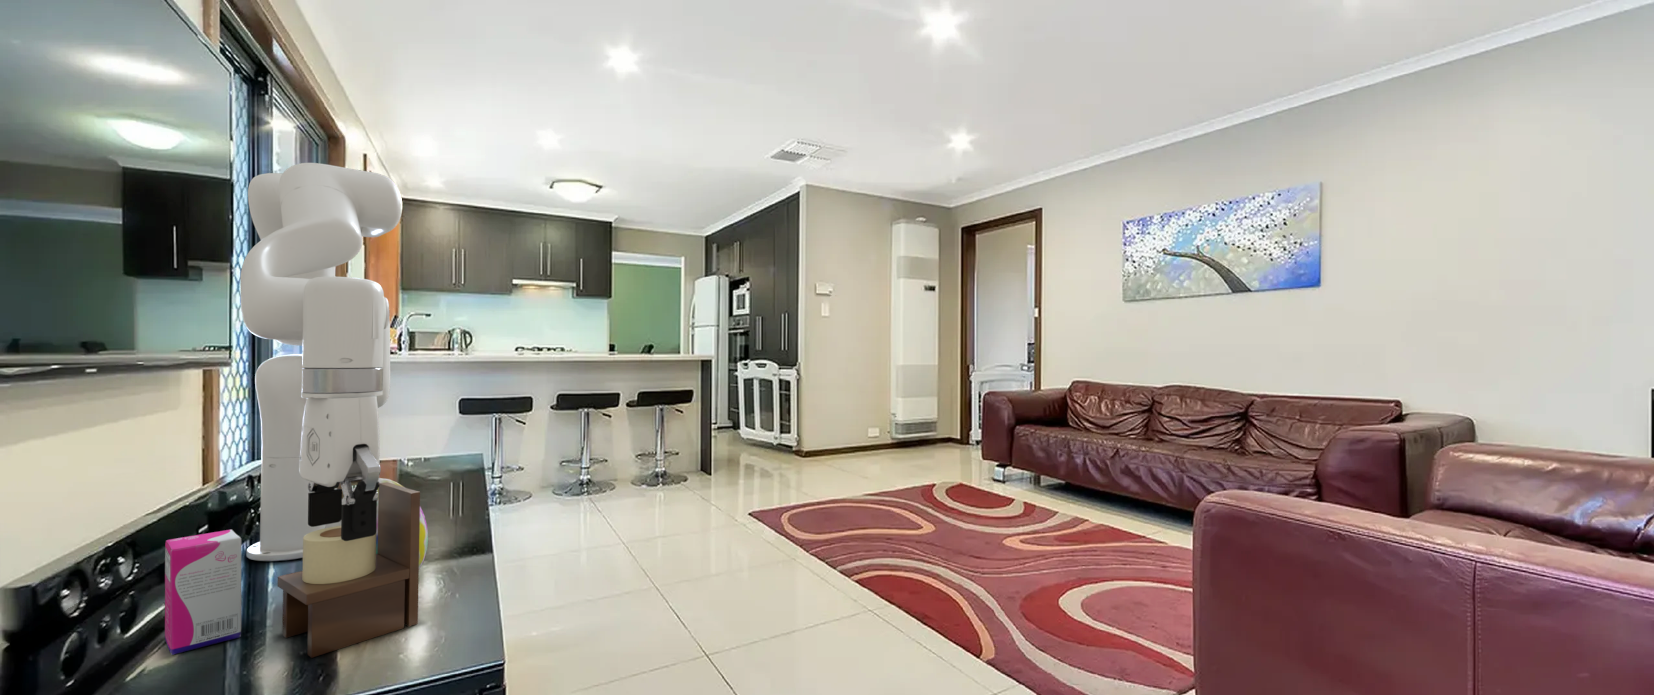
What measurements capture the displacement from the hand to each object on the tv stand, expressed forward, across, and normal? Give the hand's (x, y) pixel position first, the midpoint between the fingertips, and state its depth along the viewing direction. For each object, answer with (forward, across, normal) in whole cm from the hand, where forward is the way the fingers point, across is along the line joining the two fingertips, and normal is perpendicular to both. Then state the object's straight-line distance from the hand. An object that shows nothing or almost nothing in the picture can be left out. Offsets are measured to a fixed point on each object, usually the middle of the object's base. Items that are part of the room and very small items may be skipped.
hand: (341, 530), depth 74 cm
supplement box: (+12, -11, -9) cm, 19 cm away
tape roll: (+5, 0, 0) cm, 5 cm away
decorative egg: (+12, -13, +8) cm, 20 cm away
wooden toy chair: (+12, 0, +1) cm, 12 cm away
